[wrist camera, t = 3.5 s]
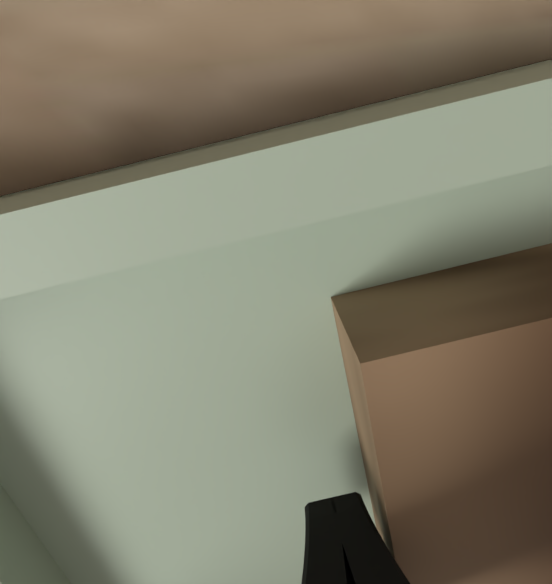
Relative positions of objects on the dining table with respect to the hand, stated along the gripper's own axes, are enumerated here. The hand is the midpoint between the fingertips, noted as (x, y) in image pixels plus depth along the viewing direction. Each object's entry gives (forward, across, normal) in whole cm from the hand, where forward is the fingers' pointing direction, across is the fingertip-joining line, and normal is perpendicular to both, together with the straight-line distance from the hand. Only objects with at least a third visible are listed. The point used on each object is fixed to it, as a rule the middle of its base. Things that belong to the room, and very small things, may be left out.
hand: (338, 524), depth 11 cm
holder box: (+2, +1, 0) cm, 2 cm away
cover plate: (+1, -4, 0) cm, 5 cm away
